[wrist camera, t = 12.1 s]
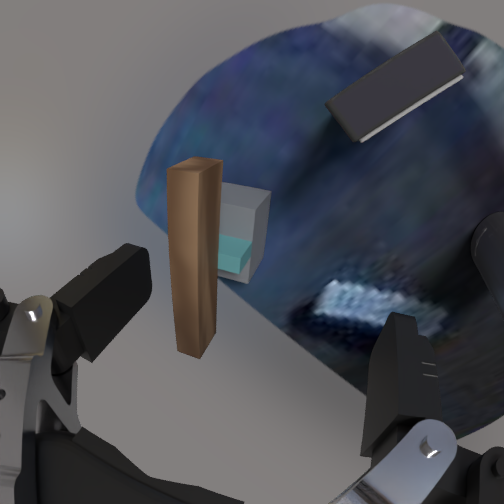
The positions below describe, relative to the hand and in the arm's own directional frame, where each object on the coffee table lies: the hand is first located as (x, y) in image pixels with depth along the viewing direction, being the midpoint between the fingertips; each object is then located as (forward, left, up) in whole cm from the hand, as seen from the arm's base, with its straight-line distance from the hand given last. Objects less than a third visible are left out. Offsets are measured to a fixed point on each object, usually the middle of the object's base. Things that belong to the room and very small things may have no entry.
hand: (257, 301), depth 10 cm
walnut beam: (+11, +12, -19) cm, 25 cm away
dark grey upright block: (-5, -8, -30) cm, 32 cm away
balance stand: (+11, +12, -30) cm, 34 cm away
